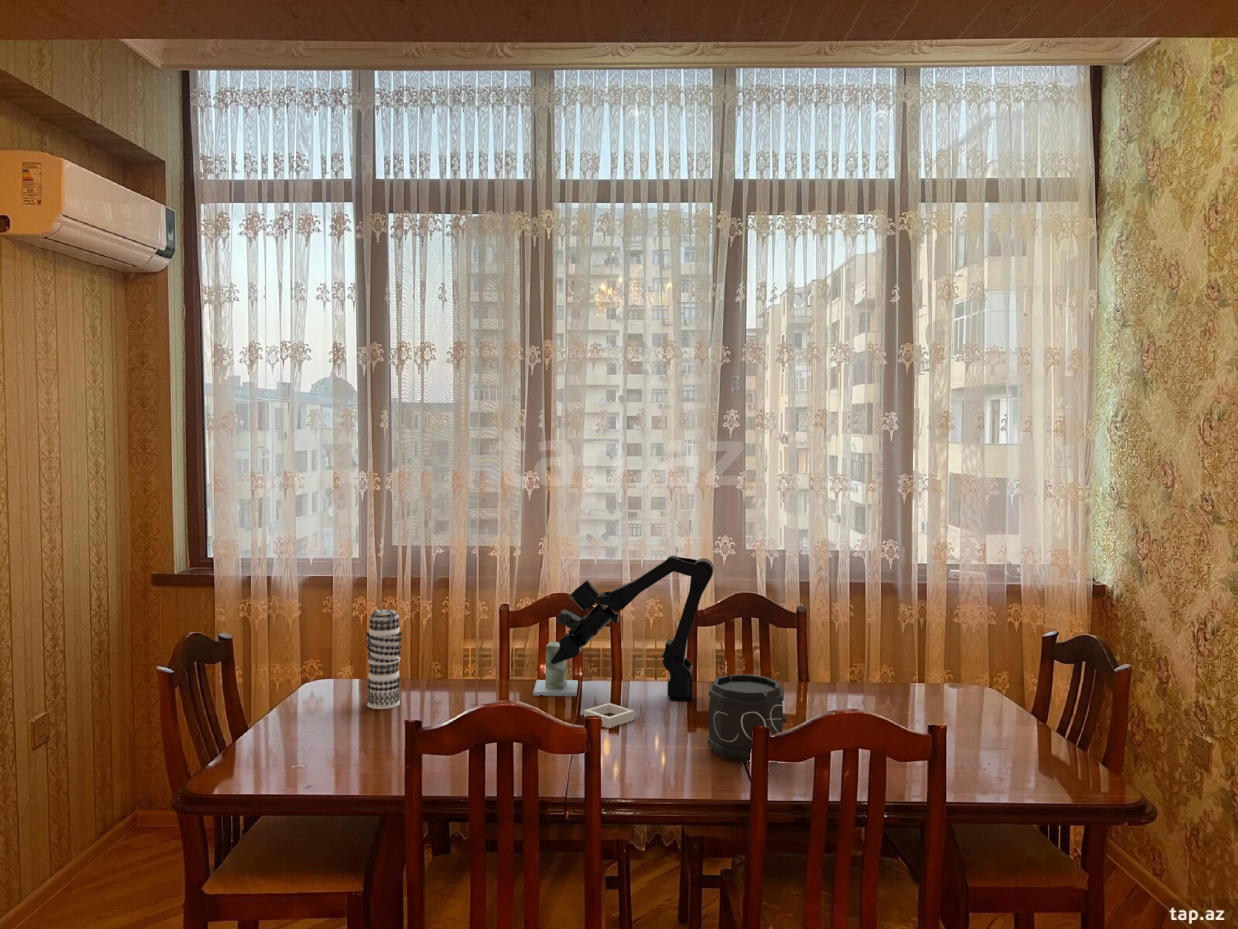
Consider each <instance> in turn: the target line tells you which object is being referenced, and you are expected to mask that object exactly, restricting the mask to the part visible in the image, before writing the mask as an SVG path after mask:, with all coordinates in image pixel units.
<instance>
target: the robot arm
mask: <svg viewBox="0 0 1238 929" xmlns="http://www.w3.org/2000/svg"><path fill="white" fill-rule="evenodd" d="M714 571H715V567H714V564H713V562H712V561H711V560H710V559H709V558H704V557H701V558H699V559H694V558H689V557H682V556H681V557H680V556H676V555H670V556H668V557H667V559H665V560H663V561H662V562H660V563H659V564H657V565H656V566H654V567H653V568H651V569H650V570H647V572H645V573H644V574H642V575H641V576H639V577H637V578H636V579H634V580H631V581H629V582H627V583H624V584H622V585H621V584H620V585H619V586H617V587H615V588H613V589H612V590H609V591H601V592H600V593H599V591H598V590H597V589H596V587H594V586H593V585H592V583H591V582H590V580H588V579H586V580H585V581H584V582H583V583H582V584H581V585H579V586H578V587H576V588H575V589H574V590H573V591H572V592H571V593H570V594H569V595H568V596H569V598H570V599H571V600H572V601H573V602H574V603H575V604H576V605H577V606H578V607H579V608H580V609H581V610H582V611H583V610H584V611H589V610H590V609H591V608H592V607H593V606H594V605H595V604H596V606H595V607H594V608H592V609H591V610H590V611H589V612H588V613H587V614H586V615H583V616H582V617H580V616H578V615H577V614H574V613H573V612H571V611H570V610H567V609H562V610H560V613H559V616H558V617H557V619H556V622H557V624H560V625H563V626H565V627H567V628H568V629H569V630H568V633H566V634H564V636H563V637H561V638H560V640H558V642H559V644H560V648H559V650H558V651H557V653H556V654H555V656H554V657H553V659H552V660H551V663H552V664H556V663H559V662H561V661H564V660H567V661H568V660H570V659H573V658H576V656H578V655H579V654H580V653H581V652H582V651H583V647H584V646H586V645H587V644H588V643H589V642H590V640H591V639H593V638H594V637H596V636H597V634H598V633H599V632H600V631H602V629H603V628H604V627H606V625H607V624H608V623H610V622H611V621H612V623H614V624H616V625H617V624H618V623H619V621H620V611H622V610H624V609H625V608H626V607H627V606H628V605H629V604H630V603H631V602H632V601H634V599H635V598H637V597H638V595H640V594H641V593H642V592H644V591H646V589H649V588H650V587H651V586H653V585H655V584H656V583H658V582H659V581H661V580H662V579H664V578H666V577H667V576H669V575H671V573H673V572H675V573H678V574H681V575H683V576H688V577H690V580H689V581H690V584H689V591H688V594H687V597H686V601H685V604H684V607H683V610H682V612H681V616H680V620H679V622H678V625H677V629H676V631H675V635H674V636H673V639H670V638H667V640H666V643H665V647H664V650H663V652H662V654H661V658H662V665H663V667H664V669H665V670H666V671H667V672H668V673H669V678H668V679H667V680H666V682H667V683H666V684H667V685H666V694H667V696H668V698H669V700H670V701H694V697H693V694H694V693H693V690H694V689H693V688H694V687H693V686H694V685H693V684H694V676H693V673H692V670H693V666H694V665H693V663H692V662H690V661H689V659H688V658H687V650H688V640H689V635H690V632H691V628H692V626H693V623H694V620H695V617H696V613H697V611H698V607H699V604H700V601H701V598H702V596H703V593H704V591H705V590H706V588H707V586H708V584H709V583H710V581H711V579H712V576H713V575H714ZM615 611H617V612H615Z"/></svg>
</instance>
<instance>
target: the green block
mask: <svg viewBox="0 0 1238 929" xmlns="http://www.w3.org/2000/svg"><path fill="white" fill-rule="evenodd" d="M559 648H560V644H559V641H549V642H548V643H547V644H546V645H545V680H546V684H545V688H552V689H563V688H564V687H565V686H566V684H567V680H568V679H567V678H568V677H567V676H568V675H567V674H568V669H567V668H568V659H567V660H564V661H561V662H559V663H556V664H552V663H551V660H552V659H553V657H554V656H555V654H556V653H557V651H558V650H559Z"/></svg>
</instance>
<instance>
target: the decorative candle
mask: <svg viewBox="0 0 1238 929" xmlns="http://www.w3.org/2000/svg"><path fill="white" fill-rule="evenodd" d="M367 618H368V619H369V628H368V632H366V634H365V636H366V637H367V639H366V644H367V646H366V649H367V651H368V652H367V654H366V657H367V663H369V665H368V666H369V671H368V678H367V683H368V684H367V689H368V691H367V693H366V695H367V698H366V699H367V707H368V708H370V709H374V710H386V709H393V708H396V707H398V706H400V703H401V701H400V699H401V695H400V694H401V689H400V686H401V683H400V681H401V677H400V670H399V662H401V657H399V655H401V654H402V651H401V650H400V649H401V648H402V645H401V644H399V643H400V642H401V641H402V640H403V638H402V637H400V636H402V635H403V632H402V631H401V630H400V626H399V624H400V620H399V619H400V615H399V614H398V613H397V611H396V610H394V609H388V608H385V609H384V608H383V609H381V608H380V609H375V610H374V611H373V612H372V613H371V615H368V617H367Z"/></svg>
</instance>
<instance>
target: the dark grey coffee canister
mask: <svg viewBox="0 0 1238 929" xmlns="http://www.w3.org/2000/svg"><path fill="white" fill-rule="evenodd" d="M708 696H709V706H708V724H707V726H708V738H707V744H708V745H709V746H710V748H711V751H712V752H713V753H714V754H716V755H717V754H718V756H720V757H721V758H722V759H726V760H730V761H735V762H740V763H750V762H749V760H750V753H751V749H752V731H753V727H755V726H764V727H769V728H770V731H771V734H776V733H778V732H782V733H783V726H784V724H787V723H788V715H785V714H784V704H783V701H785V691H784V689H783V688H782V687H781V683H780V682H779V681H777V680H774V679H772V678H770V677H767V676H761V675H755V674H750V673H749V674H748V673H745V674H743V673H742V674H736V673H734V674H733V673H732V674H730V675H727V674H725V675H722V676H719V677H716V678H714V681H713V683H712V684H711V685H710V687H709V691H708ZM747 761H748V762H747Z"/></svg>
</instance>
